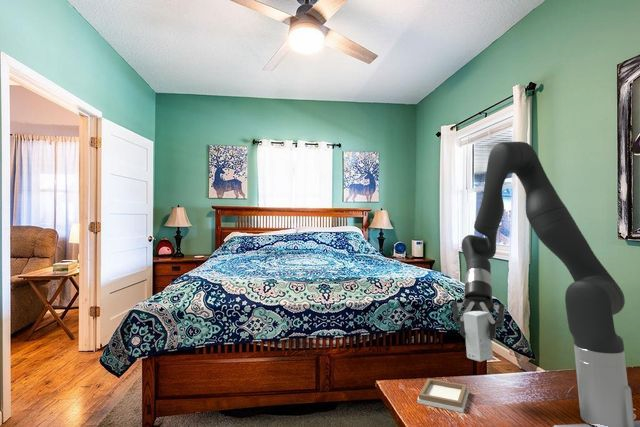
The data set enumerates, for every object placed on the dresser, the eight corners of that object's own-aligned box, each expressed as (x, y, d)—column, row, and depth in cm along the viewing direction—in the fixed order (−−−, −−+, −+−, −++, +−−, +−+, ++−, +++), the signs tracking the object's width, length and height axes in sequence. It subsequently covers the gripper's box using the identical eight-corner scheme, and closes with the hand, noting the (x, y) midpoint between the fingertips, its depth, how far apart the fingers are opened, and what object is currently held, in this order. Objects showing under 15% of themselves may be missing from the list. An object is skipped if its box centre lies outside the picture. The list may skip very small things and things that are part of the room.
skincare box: (481, 362, 88) (477, 315, 89) (465, 357, 92) (462, 313, 93) (494, 357, 92) (490, 312, 93) (478, 352, 95) (475, 309, 96)
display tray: (468, 392, 95) (468, 384, 95) (463, 412, 85) (462, 403, 85) (427, 385, 101) (426, 377, 101) (417, 403, 91) (417, 394, 91)
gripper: (451, 278, 103) (447, 327, 92) (503, 279, 96) (506, 332, 85) (455, 293, 108) (451, 341, 97) (505, 295, 100) (508, 347, 89)
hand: (477, 337), depth 91 cm, fingers closed on skincare box, 6 cm apart
